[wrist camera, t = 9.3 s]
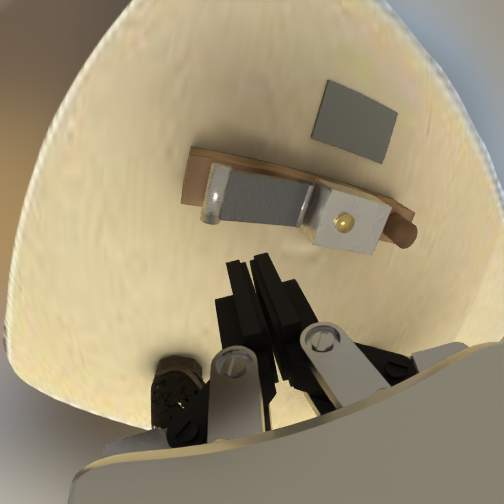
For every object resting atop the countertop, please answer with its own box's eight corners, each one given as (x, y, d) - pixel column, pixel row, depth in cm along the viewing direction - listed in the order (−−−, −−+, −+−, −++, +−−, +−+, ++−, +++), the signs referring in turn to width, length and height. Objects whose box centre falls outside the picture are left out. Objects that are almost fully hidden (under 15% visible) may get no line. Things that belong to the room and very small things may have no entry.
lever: (319, 185, 24) (214, 166, 20) (303, 231, 26) (202, 223, 22) (309, 179, 25) (209, 161, 21) (294, 224, 27) (198, 215, 23)
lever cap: (372, 194, 27) (393, 208, 24) (355, 238, 30) (373, 256, 26) (315, 177, 25) (334, 190, 22) (299, 227, 28) (313, 246, 24)
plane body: (392, 198, 34) (430, 223, 27) (380, 227, 36) (415, 257, 29) (190, 146, 27) (189, 161, 20) (182, 187, 28) (179, 216, 22)
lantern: (158, 345, 39) (165, 537, 15) (215, 357, 42) (249, 534, 18) (147, 380, 42) (152, 538, 18) (197, 389, 46) (219, 538, 22)
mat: (395, 112, 28) (397, 113, 28) (380, 163, 31) (382, 164, 31) (327, 80, 25) (329, 79, 25) (310, 138, 28) (312, 138, 28)
